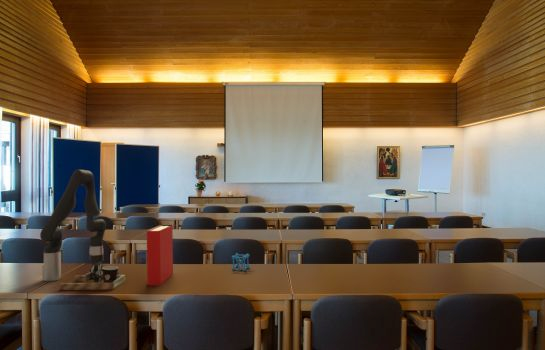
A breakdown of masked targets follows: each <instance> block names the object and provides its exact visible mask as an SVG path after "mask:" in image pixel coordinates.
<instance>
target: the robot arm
mask: <svg viewBox="0 0 545 350" xmlns="http://www.w3.org/2000/svg"><path fill="white" fill-rule="evenodd" d="M80 186H84V187H85V190H86V196H85V197H84V203H83V205H84V210H85V214H86V231H88V232H89V233H95V234H94V235H92V236H90V238H89V253H88V254H89V262H90V263H91V268H90V269H89V272H91V275H92V276H94V278H93V280H94V281H93V283H100V282H99V276H98V274H99V275H100V274H101V272H102V271H101V270H99V269H102V270H103V267H104V265H103V264H102V262H103V261H104V235H105V231H106V228H107V223H106V221H105V220H104V219H101V218H100V219H94V218H95V217H98V216H99V215H100V209H99V207H98V202H97V197H96V188H95V178H94V174H93V172H91V171H90V170H88V169H87V170H85V169H76V170H74V171H73V173H72V174H71V177H70V179H69V182H68V183H67V186H66V189H65V191H64V192H63V194H62V196H61V198H60V199H59V201H58V202H57V205H56V207H55V208H54V211H53V212H52V214H51V216H50V217H49V219H48V221H47V222H46V223H45V224H44V225H43V228H41V231H40V233H39V234H40V235H39V237H40V240H41V241H42V242H44V243H48V244H47V245H46V246H45V247H44V248H43V264H42V269H41V270H42V273H41V274H42V281H44V282H55V281H58V280H61V277H62V274H61V273H62V271H61V267H62V265H61V264H62V263H61V262H62V260H61V257H62V255H61V250H62V244H63V243H62V242H63V231H62V228H61V227H60V226H59V225H60V224H61V223H63V222H64V221H65V220H66V219H67V218H68V217H69V216H70V215H71V214H72V213H73V210H74V209H75V207H76V204H77V199H76V192H77V190H78V188H79V187H80Z"/></svg>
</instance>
